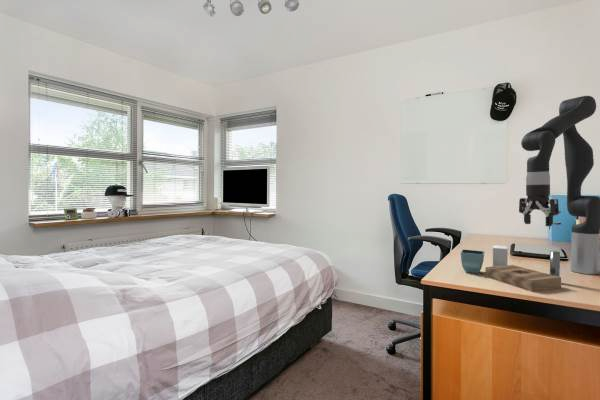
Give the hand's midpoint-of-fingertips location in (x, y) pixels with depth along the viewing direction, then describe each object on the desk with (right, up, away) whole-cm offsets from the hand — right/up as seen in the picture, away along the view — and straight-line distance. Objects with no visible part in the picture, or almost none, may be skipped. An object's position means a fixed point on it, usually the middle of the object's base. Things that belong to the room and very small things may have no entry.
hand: (537, 225), depth 126 cm
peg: (+6, -22, -1) cm, 23 cm away
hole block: (-7, -22, 0) cm, 23 cm away
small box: (-3, -22, +18) cm, 29 cm away
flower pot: (-17, -22, +16) cm, 32 cm away
